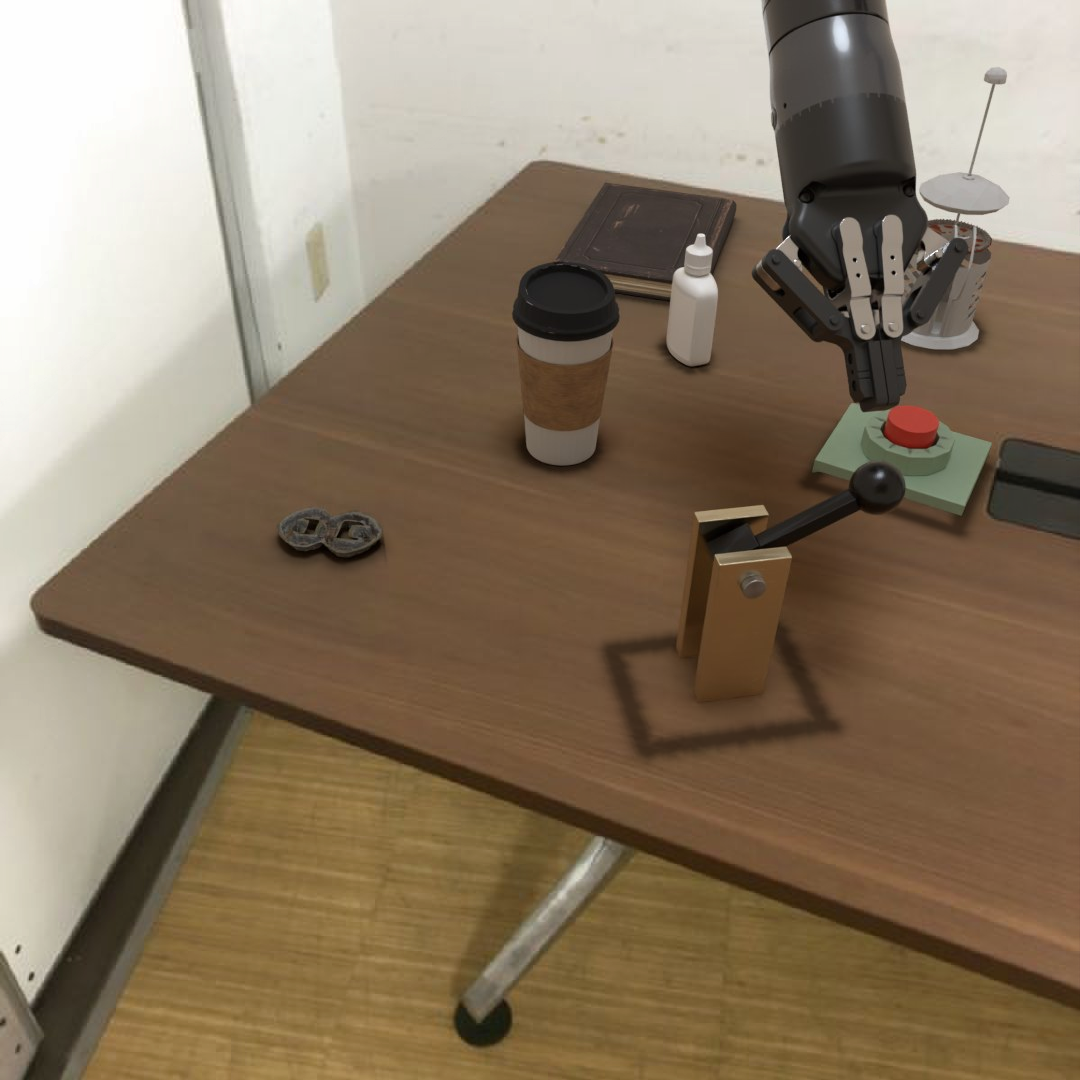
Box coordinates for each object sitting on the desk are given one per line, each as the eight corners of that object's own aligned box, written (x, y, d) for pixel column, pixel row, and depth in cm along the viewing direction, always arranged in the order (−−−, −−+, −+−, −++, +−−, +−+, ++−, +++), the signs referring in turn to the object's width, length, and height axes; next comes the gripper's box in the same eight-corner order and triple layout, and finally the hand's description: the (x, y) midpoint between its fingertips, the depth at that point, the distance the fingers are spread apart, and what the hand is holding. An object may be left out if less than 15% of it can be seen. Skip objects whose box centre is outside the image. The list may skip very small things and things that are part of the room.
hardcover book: (551, 283, 118) (552, 263, 117) (603, 200, 135) (604, 182, 134) (700, 306, 115) (703, 285, 114) (735, 218, 132) (737, 199, 131)
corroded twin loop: (289, 513, 87) (287, 502, 86) (390, 523, 86) (389, 512, 86) (269, 554, 83) (267, 543, 82) (374, 565, 82) (373, 554, 82)
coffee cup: (598, 414, 99) (608, 256, 89) (620, 470, 92) (633, 306, 83) (504, 422, 98) (504, 262, 88) (520, 479, 91) (521, 313, 82)
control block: (985, 464, 94) (998, 424, 92) (957, 528, 87) (970, 487, 85) (846, 423, 99) (855, 384, 96) (810, 481, 92) (818, 441, 89)
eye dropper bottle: (662, 365, 106) (674, 246, 98) (666, 336, 110) (678, 220, 102) (709, 370, 105) (724, 250, 98) (711, 340, 109) (726, 224, 102)
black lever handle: (897, 477, 68) (884, 440, 66) (920, 509, 65) (907, 472, 63) (718, 566, 70) (700, 534, 68) (734, 601, 67) (716, 568, 65)
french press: (973, 307, 116) (1047, 55, 100) (987, 363, 107) (1072, 96, 91) (876, 298, 117) (934, 47, 101) (882, 353, 108) (947, 87, 92)
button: (939, 432, 91) (944, 413, 90) (927, 456, 89) (932, 437, 88) (891, 418, 93) (895, 400, 92) (877, 441, 90) (882, 423, 89)
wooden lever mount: (778, 626, 78) (810, 479, 70) (827, 722, 72) (868, 572, 64) (612, 646, 77) (625, 498, 68) (646, 747, 70) (664, 595, 62)
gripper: (752, 92, 61) (796, 403, 59) (976, 83, 63) (1024, 383, 62) (712, 153, 68) (749, 431, 67) (913, 143, 70) (954, 413, 69)
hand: (881, 408), depth 64 cm, fingers closed
